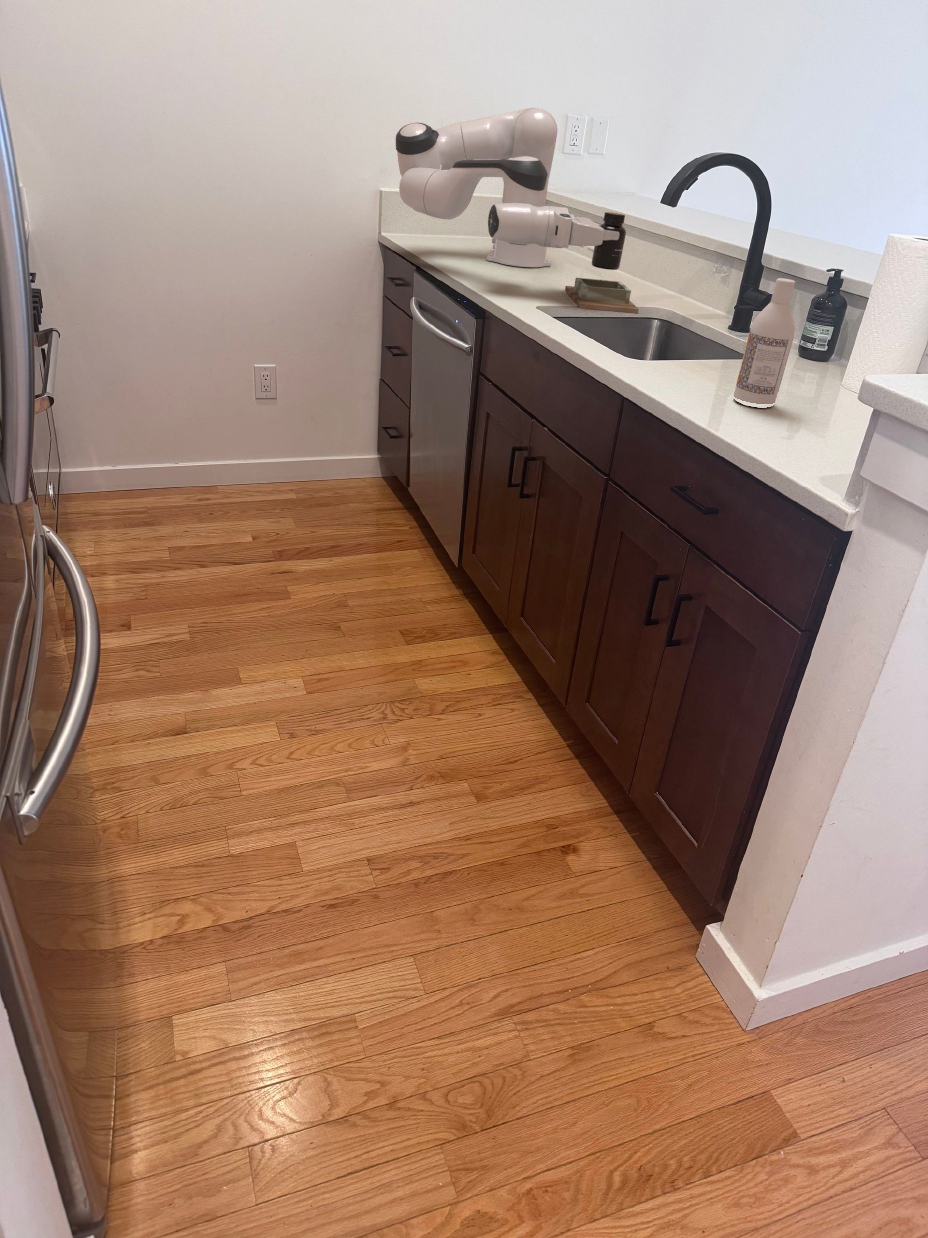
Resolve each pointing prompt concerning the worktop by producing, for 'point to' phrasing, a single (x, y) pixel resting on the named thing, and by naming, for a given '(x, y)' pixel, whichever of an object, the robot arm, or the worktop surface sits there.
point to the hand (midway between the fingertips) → (614, 233)
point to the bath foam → (767, 348)
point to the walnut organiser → (601, 295)
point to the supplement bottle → (610, 243)
